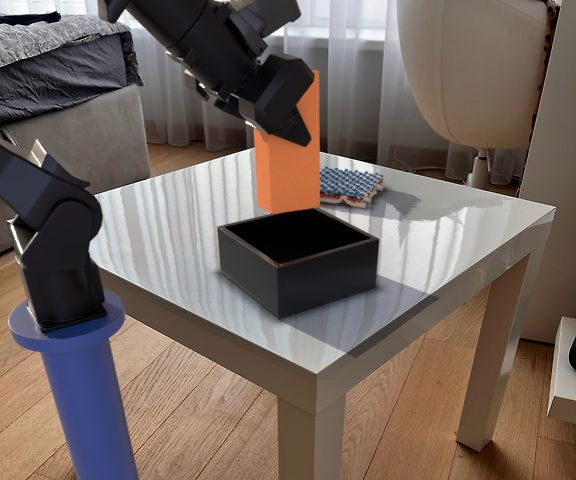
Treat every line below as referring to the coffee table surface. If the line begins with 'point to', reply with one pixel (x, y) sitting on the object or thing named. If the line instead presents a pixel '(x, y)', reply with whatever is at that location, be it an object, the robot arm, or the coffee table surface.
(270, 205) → the block
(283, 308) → the bin
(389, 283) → the coffee table surface
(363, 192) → the woven mat
